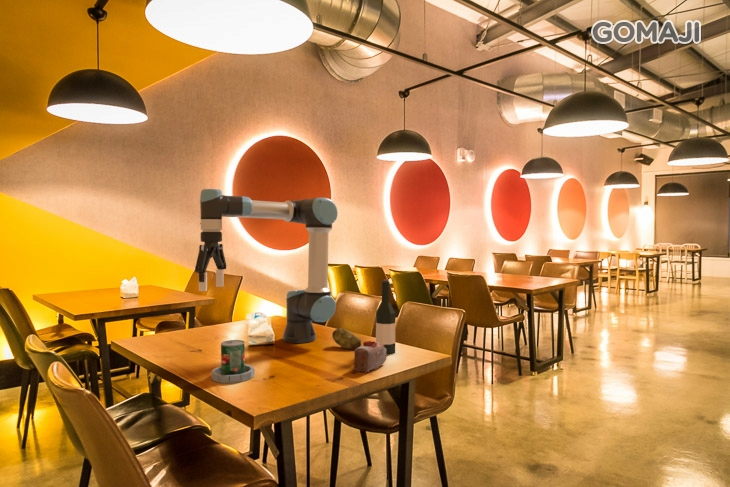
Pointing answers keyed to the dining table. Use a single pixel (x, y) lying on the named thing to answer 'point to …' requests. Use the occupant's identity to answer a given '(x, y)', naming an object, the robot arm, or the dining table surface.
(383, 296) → the wine bottle
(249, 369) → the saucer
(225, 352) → the canned tomato
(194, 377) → the dining table surface
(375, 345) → the food item
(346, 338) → the potato
